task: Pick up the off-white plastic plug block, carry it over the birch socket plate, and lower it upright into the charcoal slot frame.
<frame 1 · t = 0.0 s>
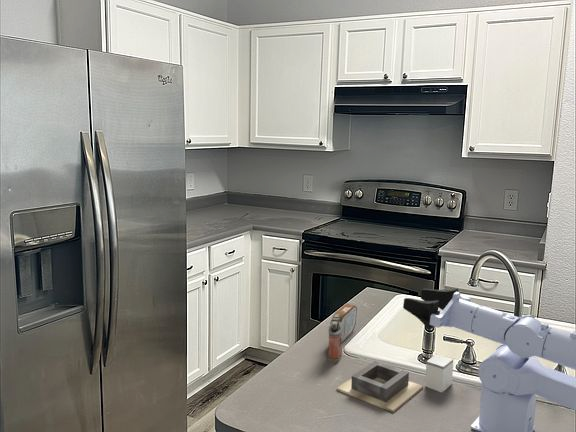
hand: (413, 298, 111), 22 cm above the worktop, tool horizontal, fingers open, 7 cm apart
socket: (379, 388, 118), on the worktop
plug: (438, 385, 120), on the worktop
lighter: (335, 356, 134), on the worktop
tin: (343, 338, 145), on the worktop
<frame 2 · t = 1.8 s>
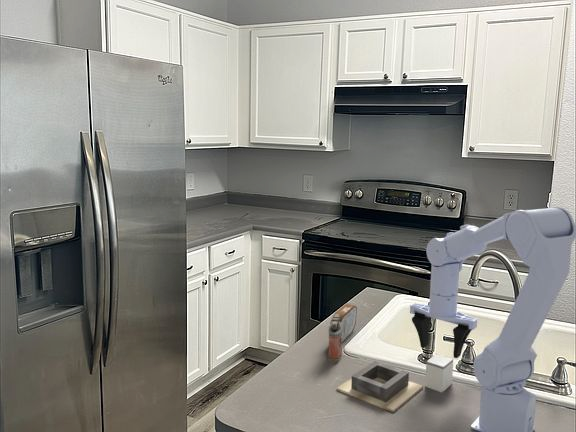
hand: (440, 351, 118), 8 cm above the worktop, tool pointing down, fingers open, 7 cm apart
nothing on the worktop moved.
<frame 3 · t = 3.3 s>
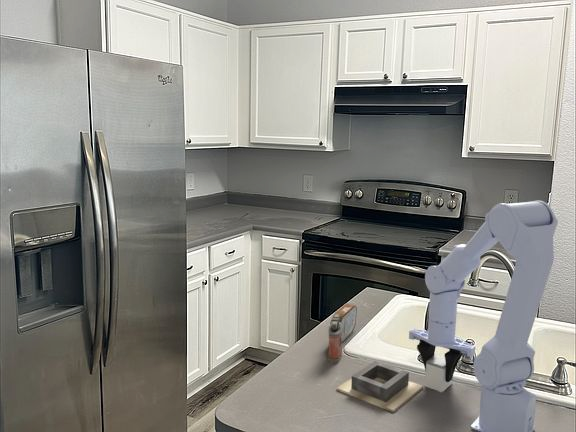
hand: (439, 376, 119), 2 cm above the worktop, tool pointing down, fingers closed on plug, 4 cm apart
plug: (438, 385, 120), on the worktop, touching gripper
everything else where it was.
when the fingers open (4 cm above the worktop, at t = 8.1 s): plug drops 2 cm, resting on socket.
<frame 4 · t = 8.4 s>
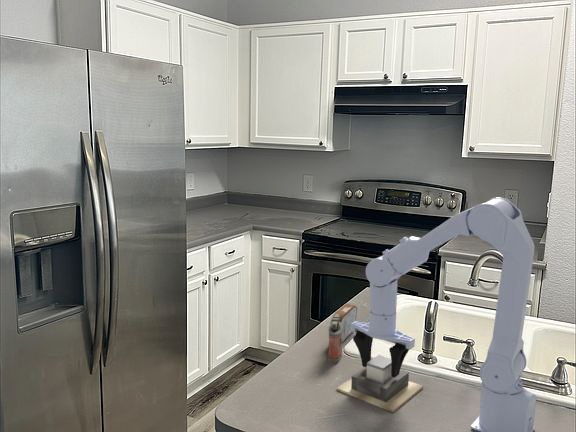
hand: (380, 370, 117), 4 cm above the worktop, tool pointing down, fingers open, 7 cm apart
plug: (380, 386, 118), resting on socket
everything else where it was.
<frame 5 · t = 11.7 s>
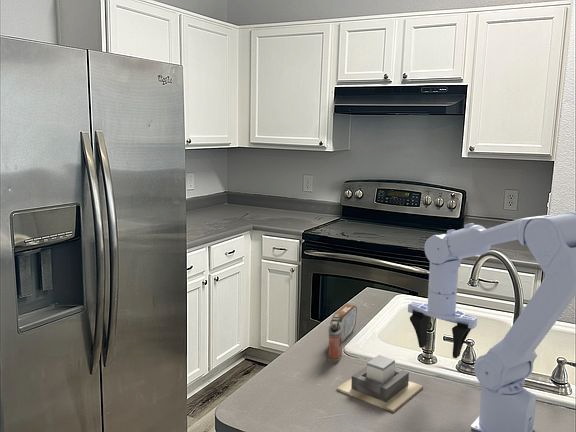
hand: (439, 351, 115), 9 cm above the worktop, tool pointing down, fingers open, 7 cm apart
nothing on the worktop moved.
at the end: plug 0.0 cm off-centre on the socket, point 0.5 cm above the socket's base; plug tilted 0°; the gripper is holding nothing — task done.
